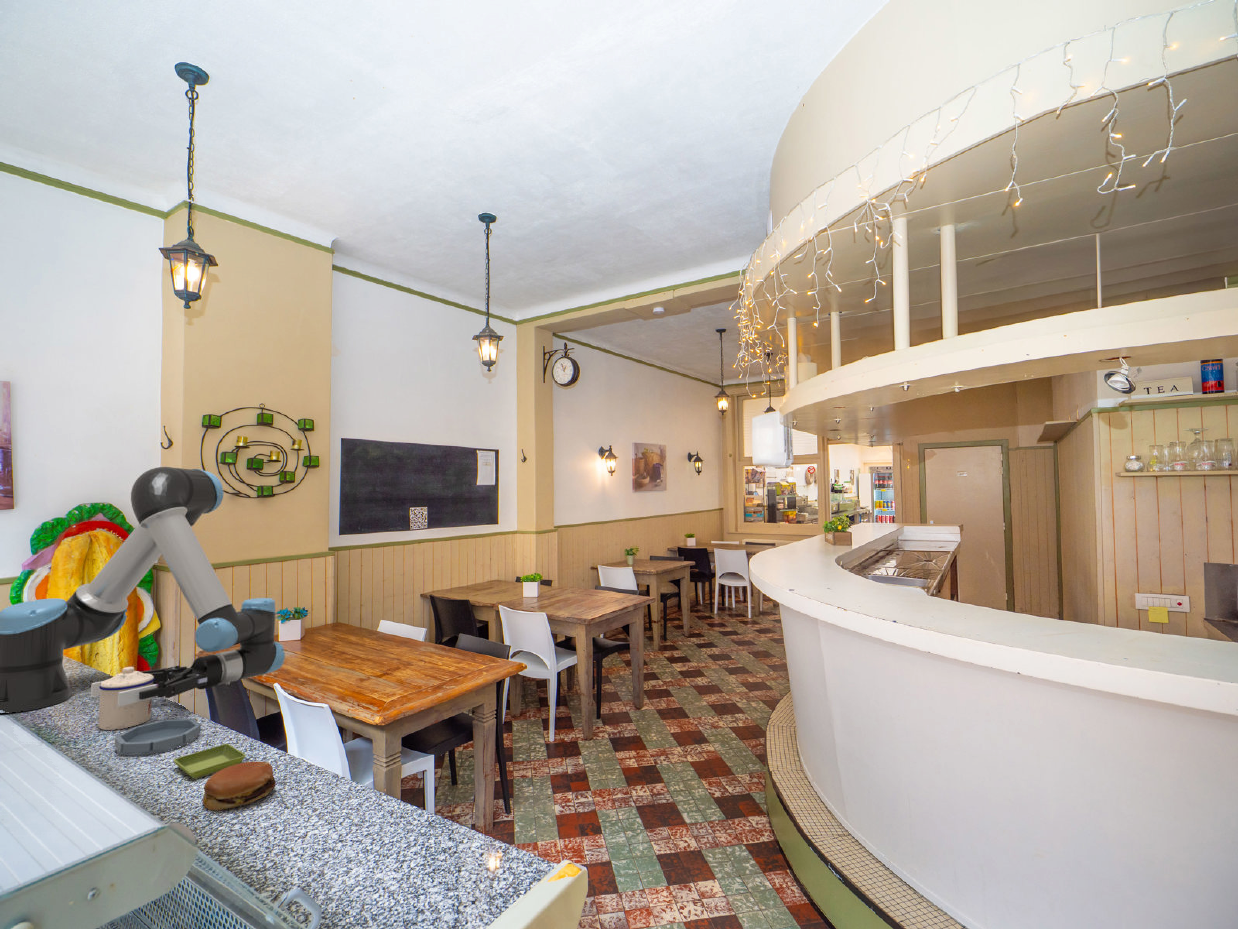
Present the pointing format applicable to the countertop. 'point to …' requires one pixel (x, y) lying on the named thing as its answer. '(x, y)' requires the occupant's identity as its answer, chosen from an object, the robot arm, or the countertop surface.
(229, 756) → the green shallow square dish
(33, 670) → the robot arm
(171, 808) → the countertop surface
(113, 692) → the teacup with lid
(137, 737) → the ashtray
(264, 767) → the burger
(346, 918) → the countertop surface
